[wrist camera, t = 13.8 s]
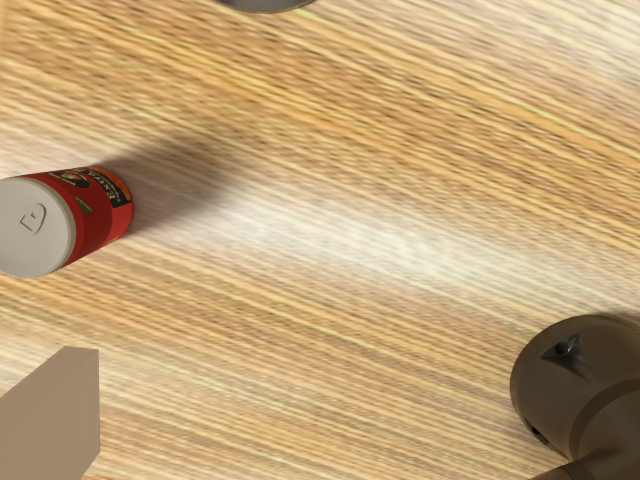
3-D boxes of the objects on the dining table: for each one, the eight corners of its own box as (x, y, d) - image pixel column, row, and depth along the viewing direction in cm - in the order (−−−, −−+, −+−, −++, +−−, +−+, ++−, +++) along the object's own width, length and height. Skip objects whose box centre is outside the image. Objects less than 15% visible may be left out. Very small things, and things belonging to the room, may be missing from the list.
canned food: (147, 186, 42) (85, 205, 31) (120, 256, 43) (52, 296, 33) (74, 151, 41) (-17, 157, 30) (49, 223, 43) (-45, 253, 32)
